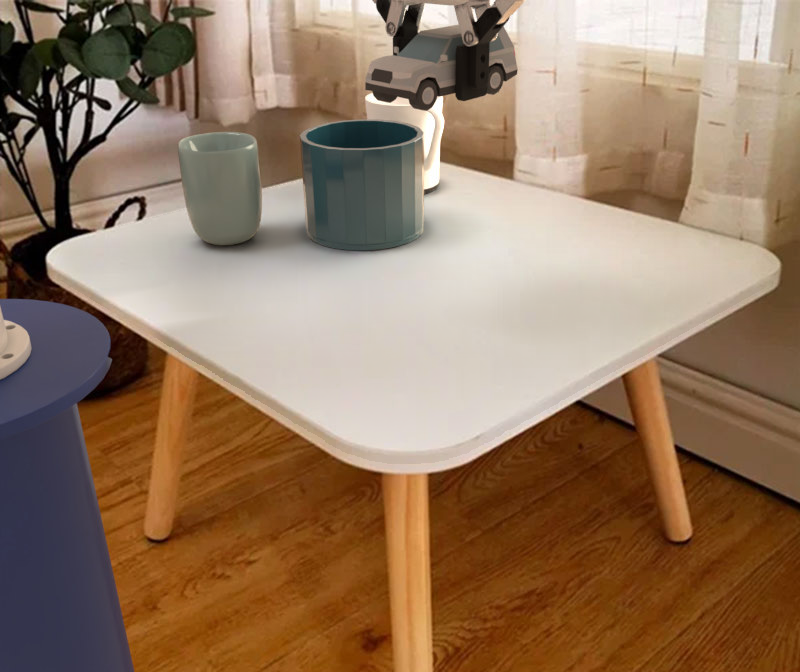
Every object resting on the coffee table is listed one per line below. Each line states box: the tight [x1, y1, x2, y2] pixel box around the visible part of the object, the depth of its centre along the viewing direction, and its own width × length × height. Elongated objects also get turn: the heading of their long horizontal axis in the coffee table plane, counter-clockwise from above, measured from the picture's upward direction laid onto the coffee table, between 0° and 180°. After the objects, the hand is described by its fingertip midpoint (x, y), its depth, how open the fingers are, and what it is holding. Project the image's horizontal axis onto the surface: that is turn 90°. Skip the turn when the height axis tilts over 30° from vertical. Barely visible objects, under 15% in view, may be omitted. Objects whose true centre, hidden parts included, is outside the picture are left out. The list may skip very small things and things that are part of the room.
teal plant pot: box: [299, 118, 425, 251], centre depth 96 cm, size 12×12×10 cm
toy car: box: [364, 24, 519, 111], centre depth 73 cm, size 6×13×5 cm, turn 133°
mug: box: [364, 92, 445, 195], centre depth 109 cm, size 11×9×10 cm
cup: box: [177, 131, 263, 246], centre depth 94 cm, size 8×8×10 cm
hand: (439, 90), depth 74 cm, fingers closed on toy car, 5 cm apart
